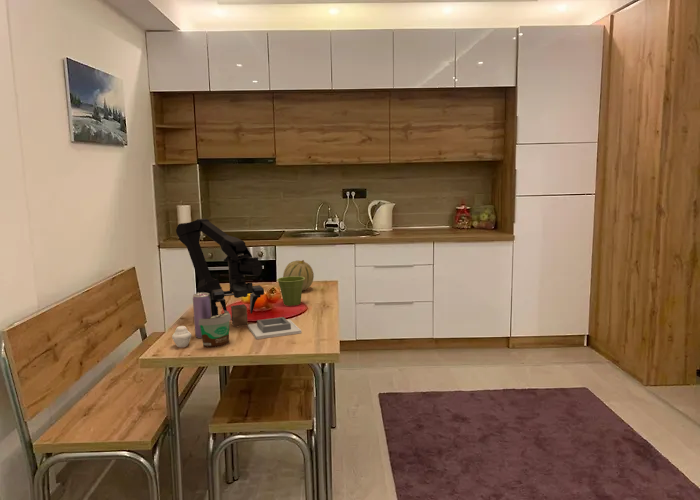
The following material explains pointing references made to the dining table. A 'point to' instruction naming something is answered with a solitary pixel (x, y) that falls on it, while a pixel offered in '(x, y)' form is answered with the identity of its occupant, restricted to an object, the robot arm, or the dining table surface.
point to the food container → (215, 330)
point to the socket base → (273, 328)
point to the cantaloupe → (300, 272)
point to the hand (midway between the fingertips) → (239, 314)
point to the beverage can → (201, 310)
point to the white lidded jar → (181, 336)
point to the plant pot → (291, 289)
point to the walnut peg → (239, 315)
